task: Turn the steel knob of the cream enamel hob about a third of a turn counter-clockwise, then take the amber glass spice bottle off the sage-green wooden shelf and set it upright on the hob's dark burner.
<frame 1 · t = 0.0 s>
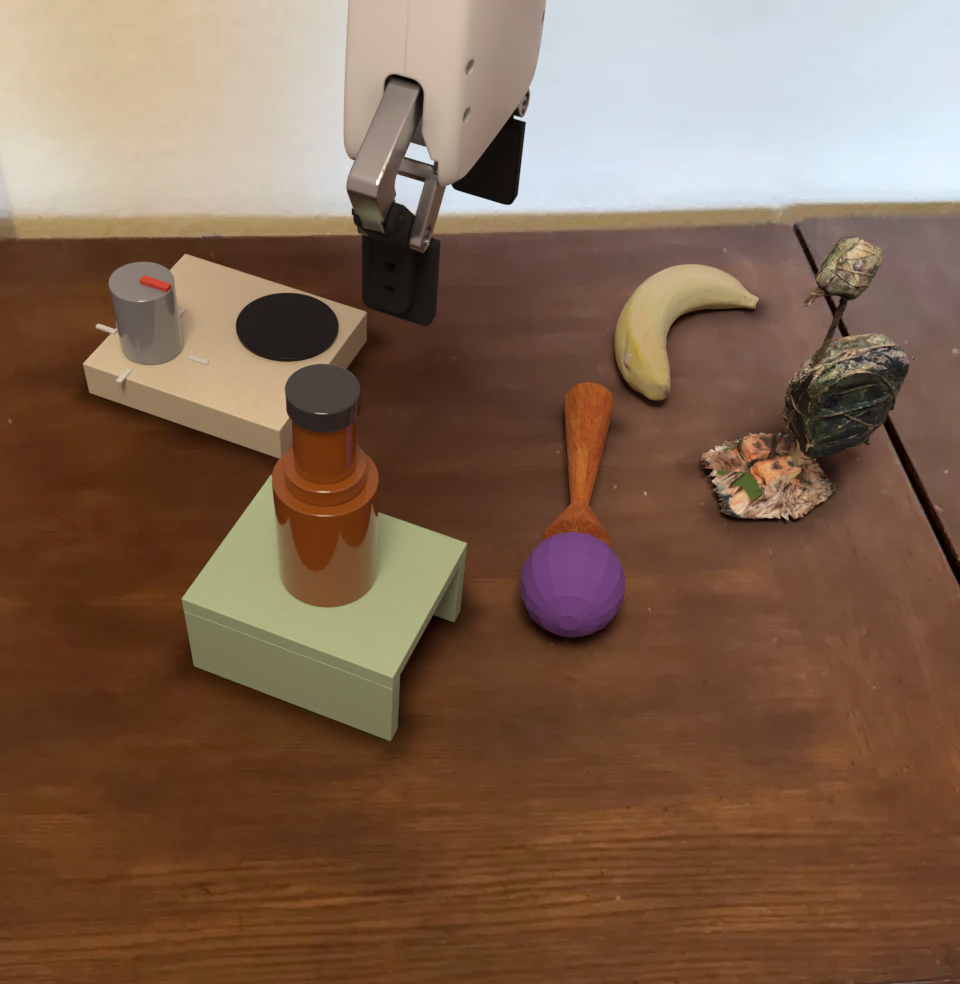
hand: (443, 251, 56), 23 cm above the table, tool pointing down, fingers open, 9 cm apart
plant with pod: (781, 483, 82), on the table
hob: (232, 366, 85), on the table
kendama: (574, 531, 78), on the table
fruit: (677, 348, 90), on the table
burner: (289, 357, 86), resting on hob
spice bottle: (328, 569, 67), point 6 cm above the table, touching shelf
shelf: (330, 637, 72), on the table
hob knob: (146, 311, 80), point 5 cm above the table, hinge at 0.0°
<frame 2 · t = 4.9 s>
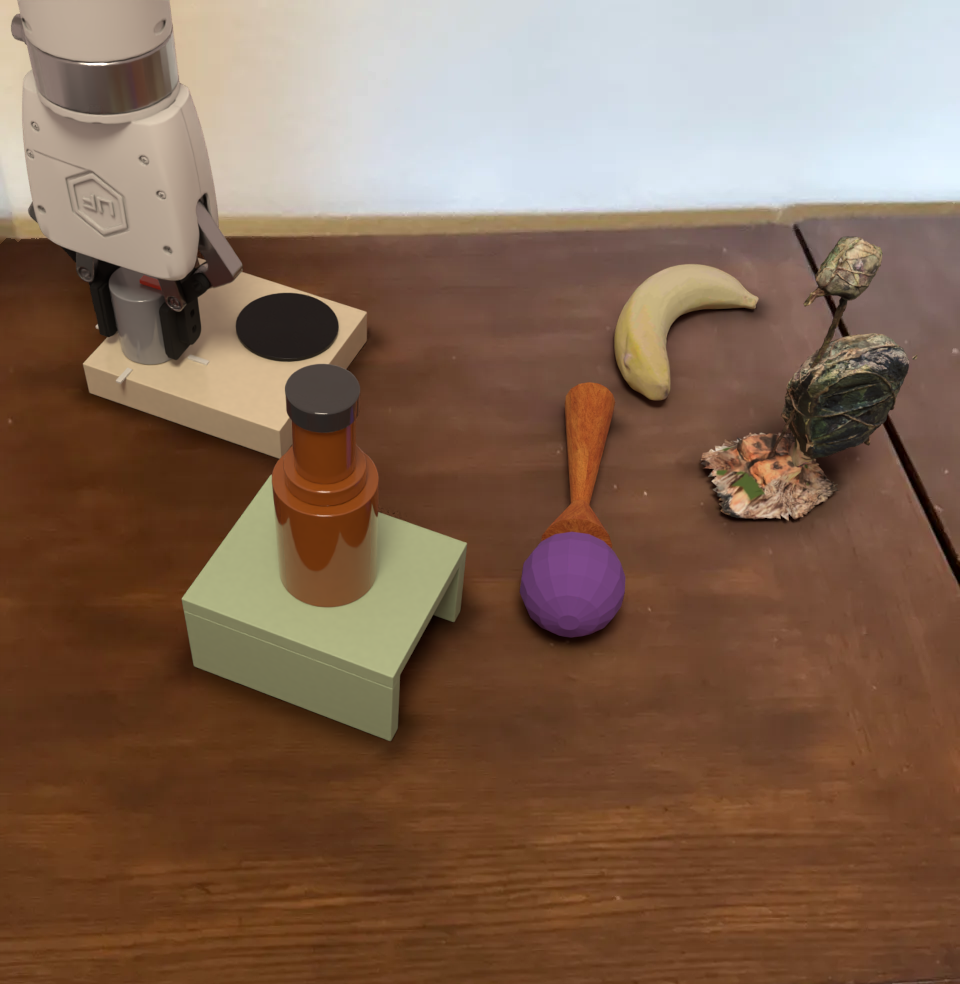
hand: (150, 333, 81), 4 cm above the table, tool pointing down, fingers closed on hob knob, 4 cm apart
hob knob: (146, 311, 80), point 5 cm above the table, hinge at 0.0°, touching gripper
everything else where it was.
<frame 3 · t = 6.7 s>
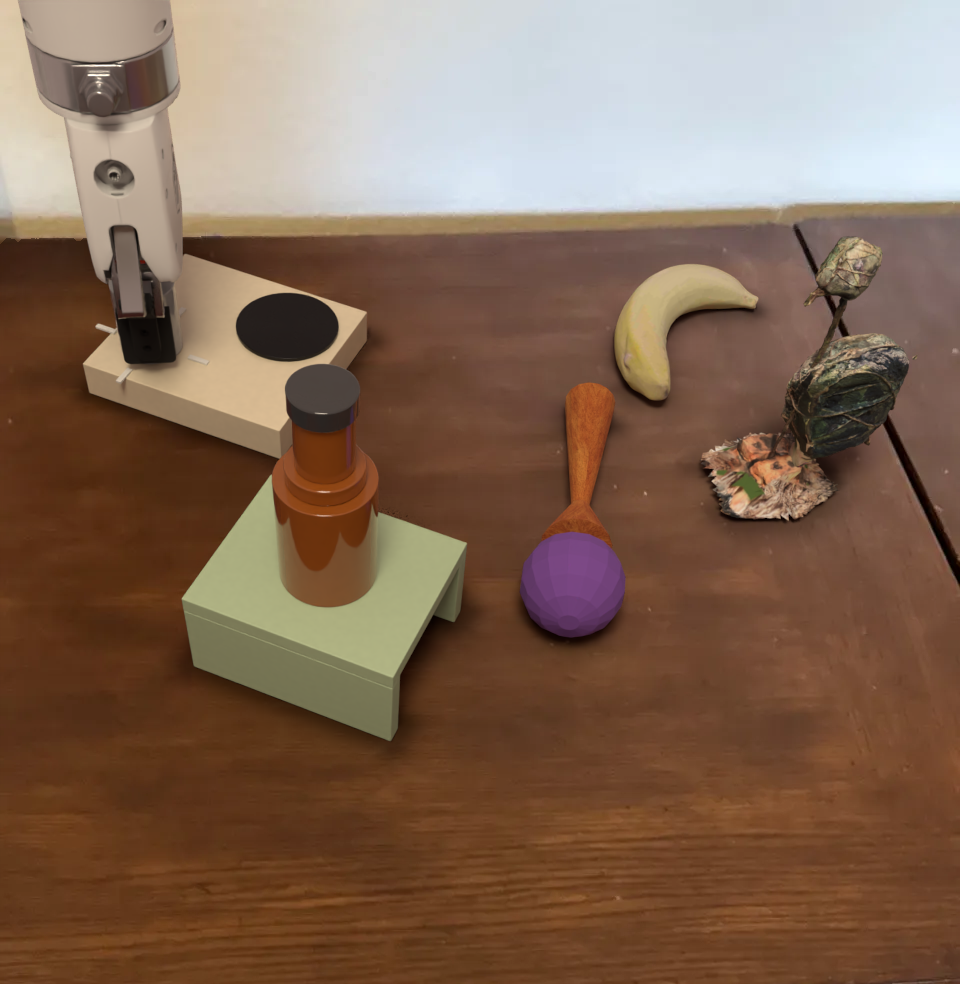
hand: (151, 333, 81), 3 cm above the table, tool pointing down, fingers closed on hob knob, 4 cm apart
hob knob: (146, 311, 80), point 5 cm above the table, hinge at 120.6°, touching gripper
everything else where it was.
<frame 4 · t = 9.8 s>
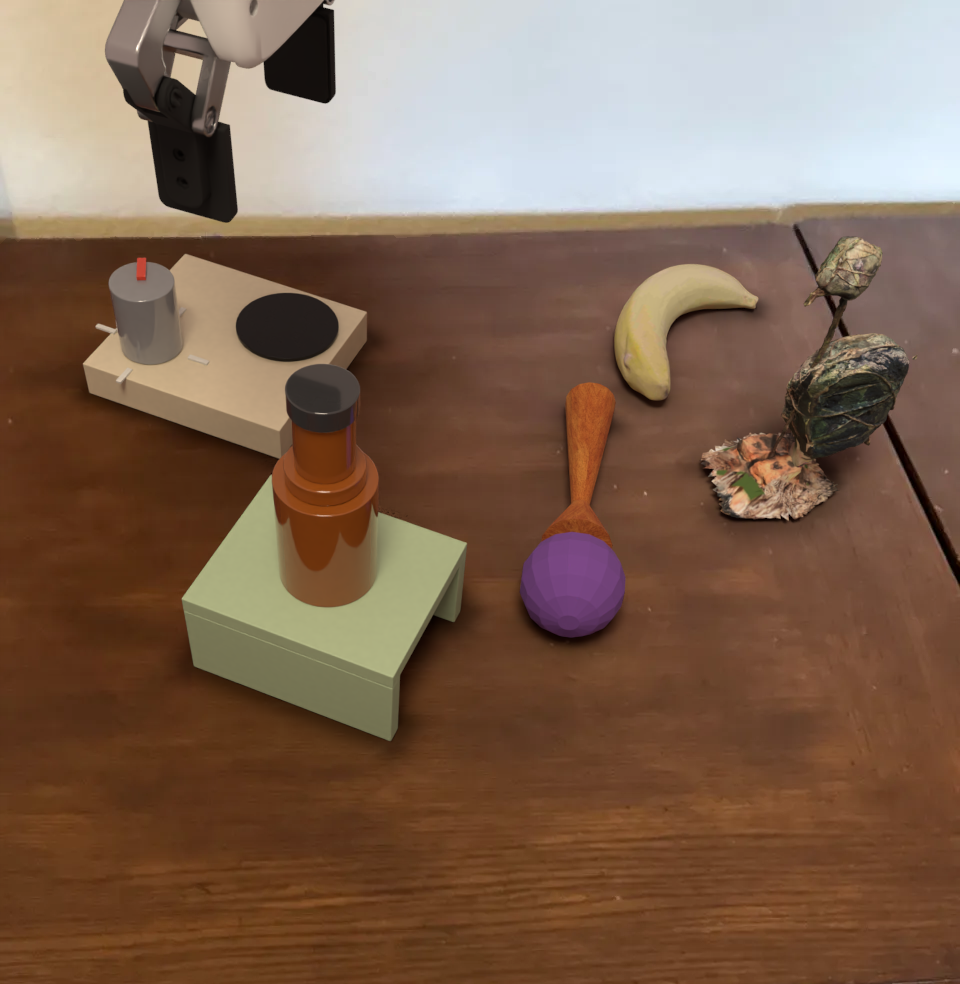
hand: (252, 149, 53), 27 cm above the table, tool pointing down, fingers open, 9 cm apart
hob knob: (146, 311, 80), point 5 cm above the table, hinge at 119.2°
everything else where it was.
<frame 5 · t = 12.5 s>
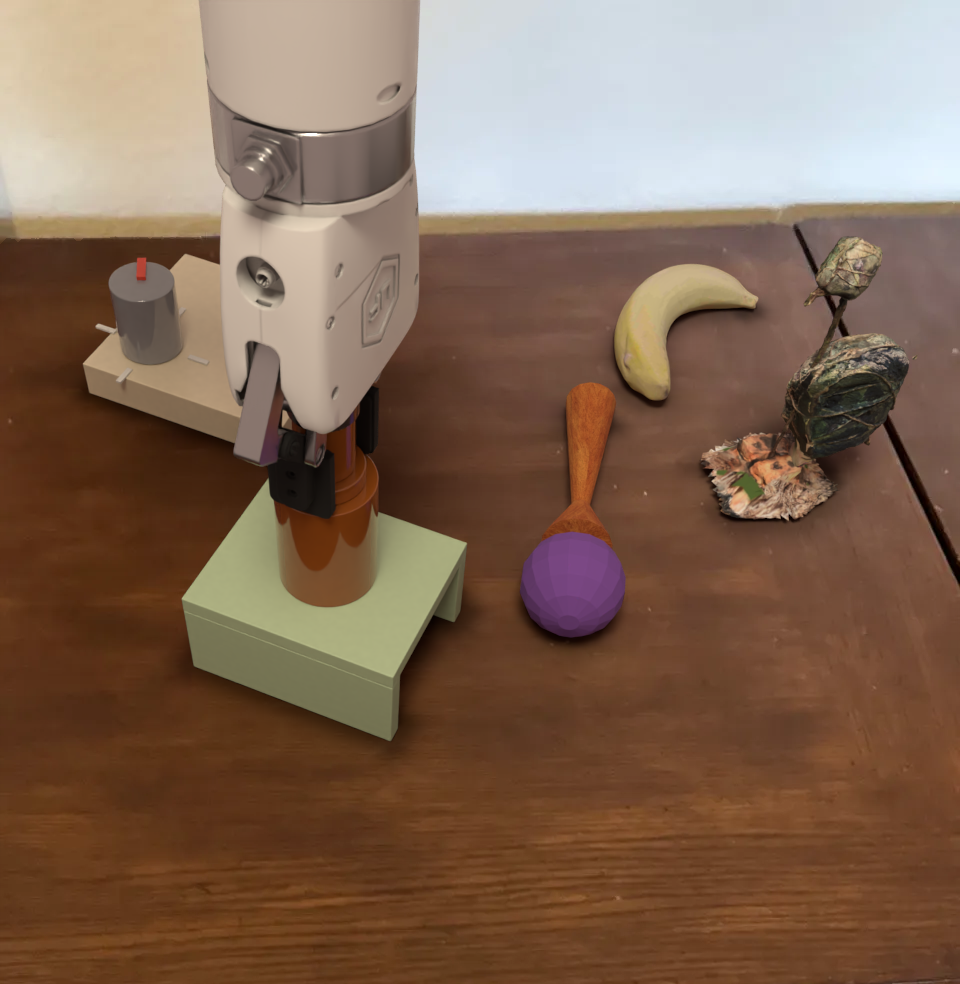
hand: (325, 471, 61), 13 cm above the table, tool pointing down, fingers closed on spice bottle, 4 cm apart
spice bottle: (328, 569, 67), point 6 cm above the table, touching gripper, shelf
everything else where it was.
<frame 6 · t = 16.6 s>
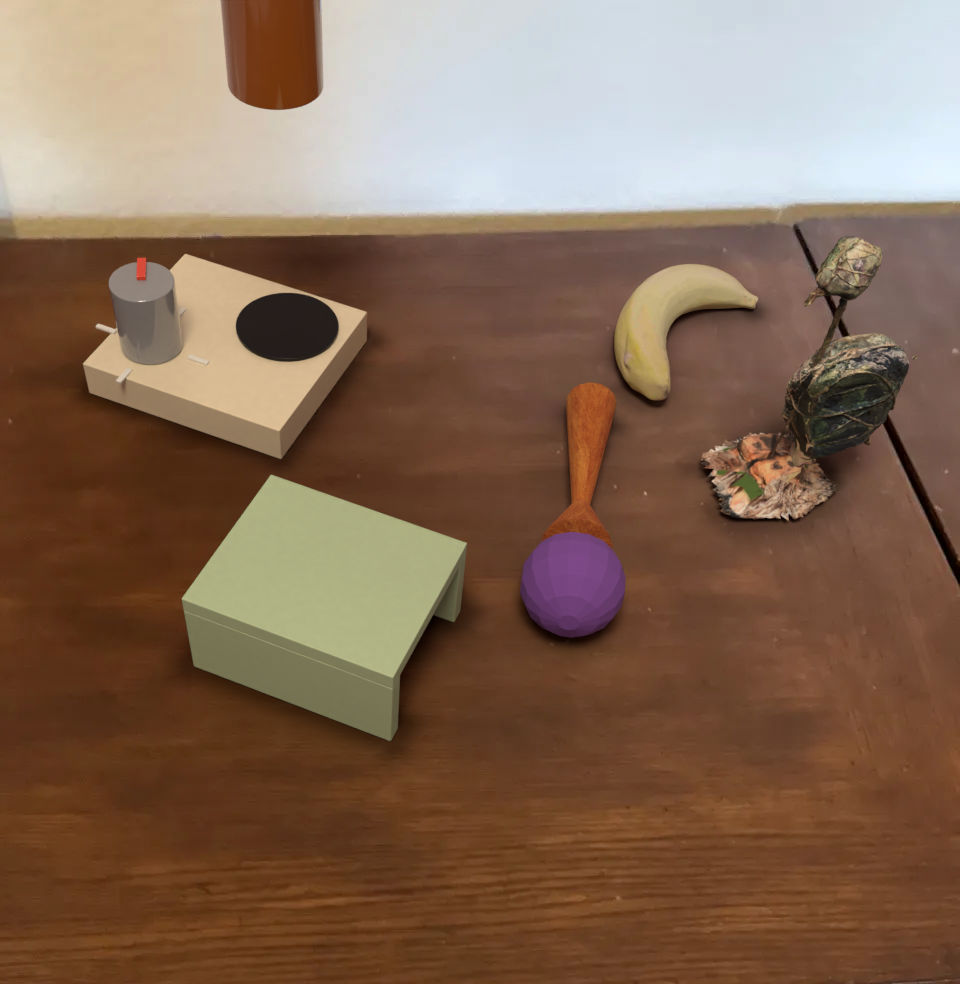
spice bottle: (275, 84, 69), point 20 cm above the table, touching gripper
everything else where it was.
when the fingers open (10 cm above the table, at t = 20.7 s): spice bottle stays where it is, resting on burner.
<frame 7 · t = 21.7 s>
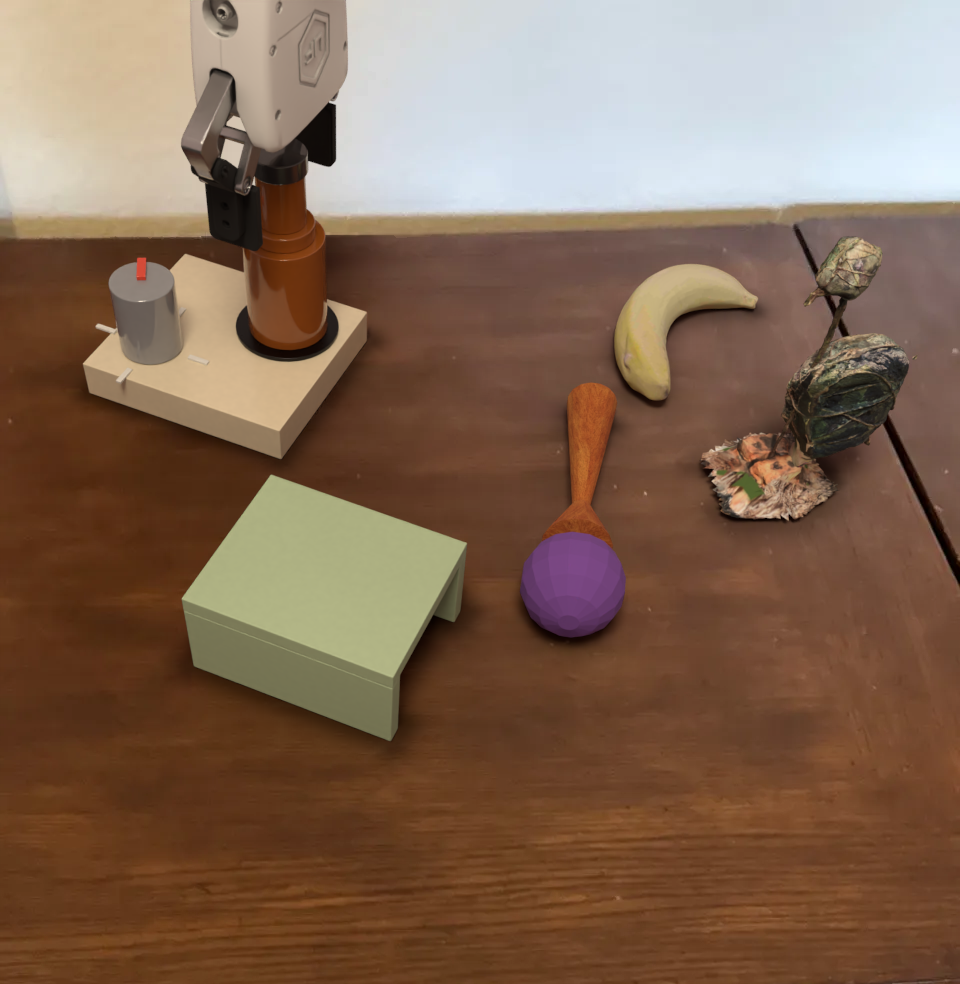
hand: (275, 199, 76), 12 cm above the table, tool pointing down, fingers open, 9 cm apart
spice bottle: (288, 324, 83), point 3 cm above the table, touching burner
everything else where it was.
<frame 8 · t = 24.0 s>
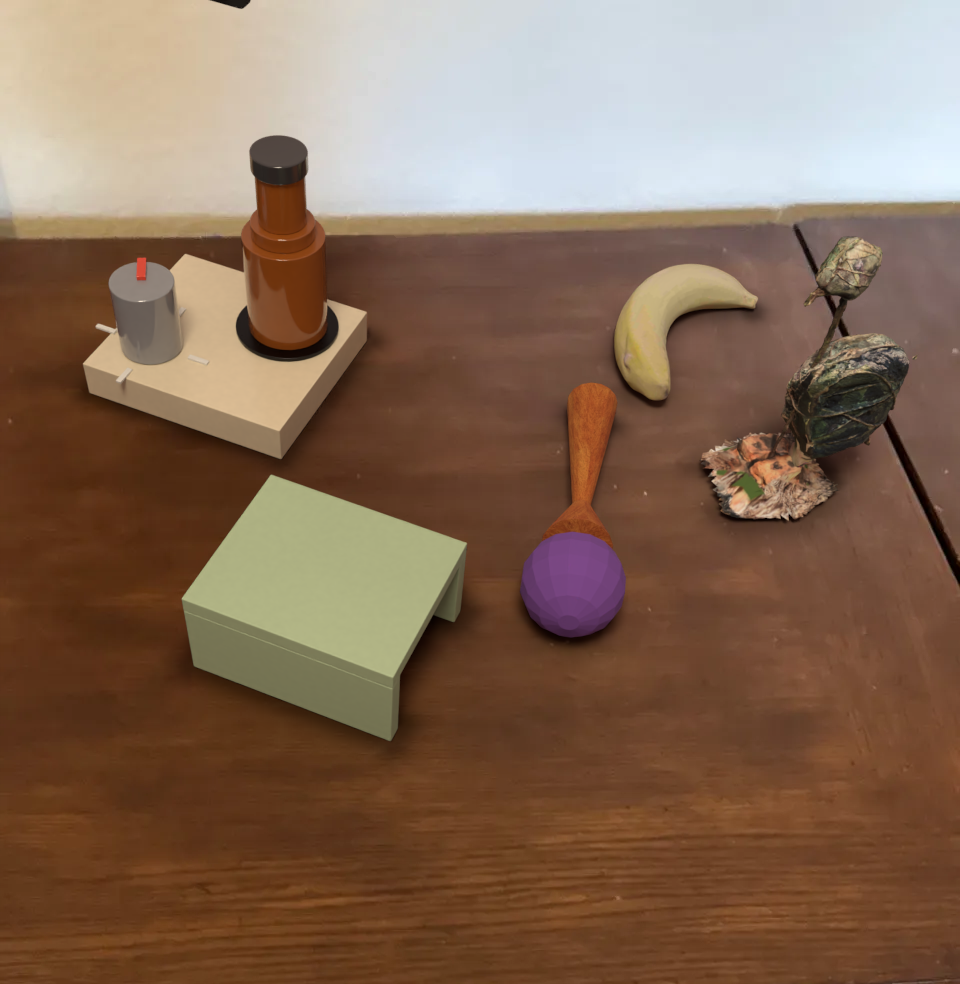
nothing on the table moved.
at the end: hob knob at +119° (first picture: +0°); spice bottle 0.1 cm off-centre on the burner, point 2.8 cm above the burner's base; spice bottle tilted 0° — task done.
